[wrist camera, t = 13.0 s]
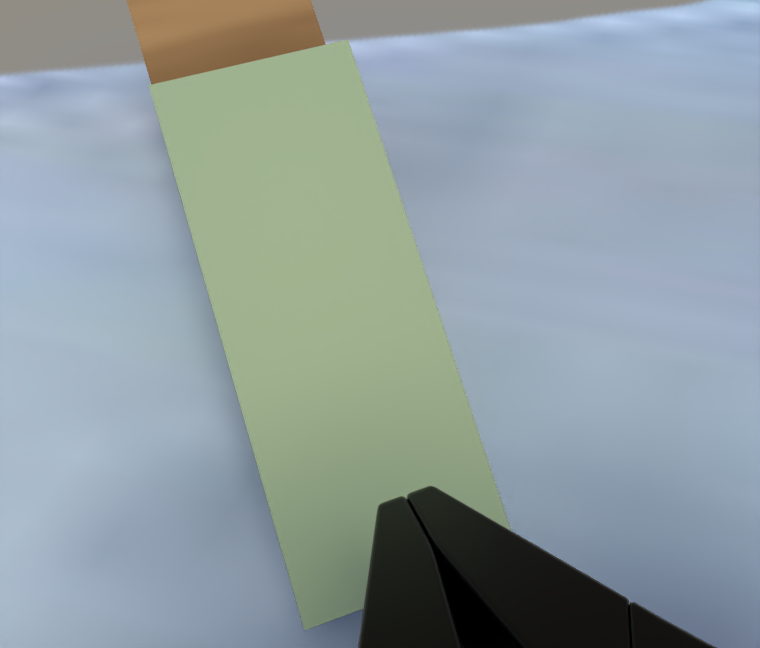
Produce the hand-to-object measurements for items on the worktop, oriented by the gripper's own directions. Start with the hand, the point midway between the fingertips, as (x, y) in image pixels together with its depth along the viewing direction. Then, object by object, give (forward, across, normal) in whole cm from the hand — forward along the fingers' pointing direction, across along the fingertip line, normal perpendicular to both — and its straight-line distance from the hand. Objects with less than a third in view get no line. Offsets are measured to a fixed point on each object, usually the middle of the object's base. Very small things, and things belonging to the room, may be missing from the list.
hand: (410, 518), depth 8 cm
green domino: (+4, 0, +5) cm, 6 cm away
